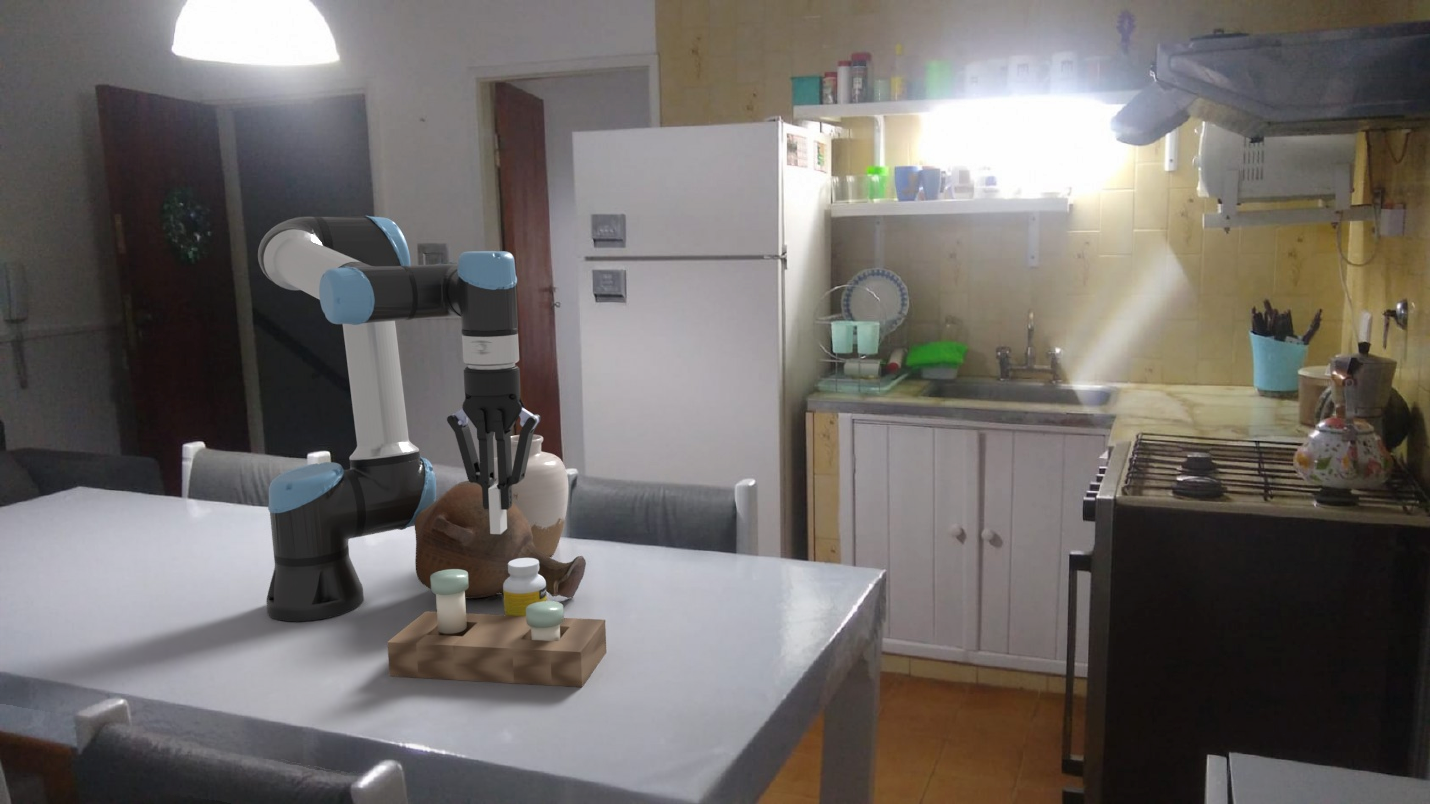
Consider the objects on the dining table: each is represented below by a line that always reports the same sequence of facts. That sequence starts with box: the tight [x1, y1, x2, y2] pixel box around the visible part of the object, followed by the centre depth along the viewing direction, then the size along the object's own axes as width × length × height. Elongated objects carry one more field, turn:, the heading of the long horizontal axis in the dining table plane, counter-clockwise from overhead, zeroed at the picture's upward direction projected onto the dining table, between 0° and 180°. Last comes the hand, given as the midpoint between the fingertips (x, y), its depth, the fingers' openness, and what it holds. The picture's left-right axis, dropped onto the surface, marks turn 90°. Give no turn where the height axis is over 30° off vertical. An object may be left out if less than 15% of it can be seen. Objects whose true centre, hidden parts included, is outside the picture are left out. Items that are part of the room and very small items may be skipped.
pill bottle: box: [503, 558, 548, 616], centre depth 159 cm, size 6×6×12 cm
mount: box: [386, 611, 607, 688], centre depth 149 cm, size 28×12×5 cm, turn 80°
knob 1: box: [430, 569, 469, 634], centre depth 149 cm, size 5×5×8 cm
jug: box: [414, 480, 587, 599], centre depth 175 cm, size 20×20×30 cm
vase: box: [494, 434, 569, 558], centre depth 199 cm, size 16×16×23 cm
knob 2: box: [526, 600, 565, 641], centre depth 147 cm, size 5×5×8 cm
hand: (498, 531), depth 146 cm, fingers closed
